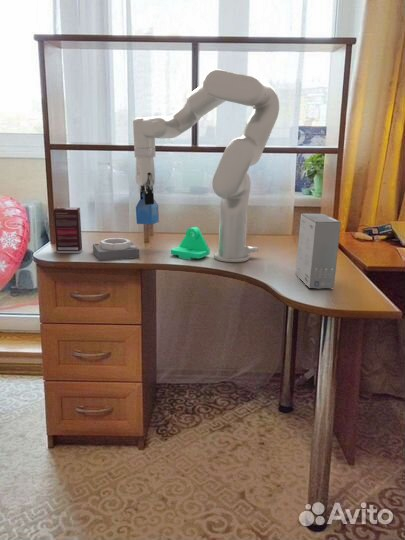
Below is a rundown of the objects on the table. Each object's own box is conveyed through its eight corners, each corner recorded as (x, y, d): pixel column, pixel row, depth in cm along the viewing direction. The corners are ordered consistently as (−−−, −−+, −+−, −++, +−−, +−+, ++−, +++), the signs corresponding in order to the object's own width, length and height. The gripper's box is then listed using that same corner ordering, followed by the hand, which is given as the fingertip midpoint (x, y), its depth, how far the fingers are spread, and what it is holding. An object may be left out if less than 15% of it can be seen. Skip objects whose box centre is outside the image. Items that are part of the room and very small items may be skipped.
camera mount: (170, 256, 171) (170, 228, 169) (181, 252, 178) (181, 225, 175) (199, 261, 166) (200, 232, 163) (209, 257, 173) (210, 228, 170)
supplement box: (82, 250, 176) (80, 207, 172) (80, 253, 172) (78, 209, 167) (58, 250, 176) (56, 206, 171) (55, 253, 171) (52, 209, 167)
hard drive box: (334, 290, 139) (341, 222, 133) (308, 290, 138) (314, 221, 133) (318, 274, 154) (324, 212, 148) (294, 274, 153) (299, 212, 148)
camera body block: (131, 249, 179) (130, 236, 178) (139, 257, 169) (139, 243, 167) (93, 252, 174) (92, 238, 173) (99, 260, 163) (98, 246, 162)
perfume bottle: (144, 221, 184) (142, 189, 181) (158, 221, 182) (157, 189, 179) (136, 223, 178) (135, 191, 175) (151, 224, 176) (150, 191, 173)
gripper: (129, 152, 180) (131, 201, 185) (141, 154, 164) (143, 206, 169) (148, 152, 182) (150, 200, 187) (162, 153, 167) (163, 205, 172)
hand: (147, 202), depth 178 cm, fingers closed on perfume bottle, 5 cm apart
